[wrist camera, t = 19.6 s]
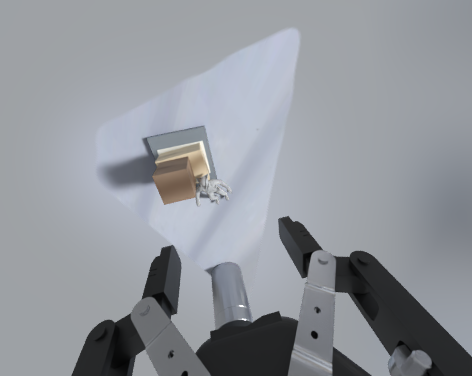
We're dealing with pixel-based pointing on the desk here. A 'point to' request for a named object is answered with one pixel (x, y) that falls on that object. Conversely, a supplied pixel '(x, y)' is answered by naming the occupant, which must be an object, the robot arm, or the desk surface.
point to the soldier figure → (211, 188)
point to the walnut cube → (175, 180)
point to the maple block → (194, 156)
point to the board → (183, 144)
